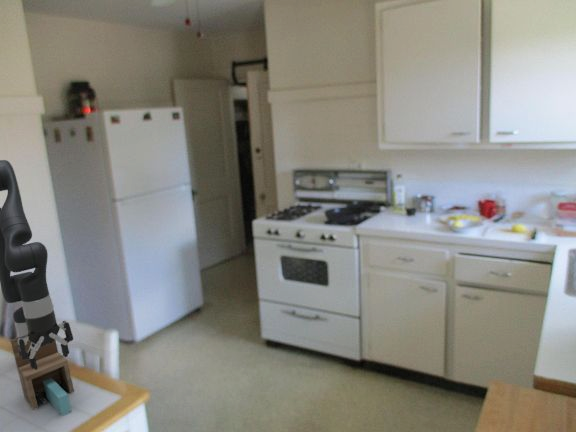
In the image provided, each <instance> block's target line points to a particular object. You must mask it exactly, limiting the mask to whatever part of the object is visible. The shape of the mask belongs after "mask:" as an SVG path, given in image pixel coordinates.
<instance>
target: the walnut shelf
mask: <svg viewBox="0 0 576 432" xmlns="http://www.w3.org/2000/svg"><path fill="white" fill-rule="evenodd" d="M26 336H28V334H27V335H24V336H21V338H23V337H26ZM17 338H18V337H17ZM17 338H16V337H15V338H13V339H11V340H10V345H11V349H12V353H13V357H14V360H15V364H16V368H17V373H18V377H19V382H20V384H21V387H22V392H23V396H24V399H25V400H26V402H27V403H28V405H30V407H31V408H32V409H33V410H36V409H38V408H39V406H38V401H37V398H38V399H39V400H40V402H41V403H42V404H43V405H45V404H47V403H48V400H46V399H47V398H46V397H44V395H42V394H41V393H43V392H45V388H44V384H43V381H44V380H47V379H49V378H52V379H53V380H54V381H55V382H56V383H57V384H58V385H59V386H60V385H62V386H63V387H64V388H65V389H66V390H67V392H69V393H70V394H71V393H73V392H74V391H75V389H74V385H73V379H72V376H71V372H70V371H71V370H70V366H69V362H68V359H67V357H64V356H63V354H61V353H60V352H59V350H58V349H59V348H58V346H57V342H56V340H54V341H53V343H50V344H46V345H45V346H40V347H39V349H38V351H37V352H36V354H35V356H34V357H35V359H36V363H37V368H38V369H36V370H35V369H32V368H31V367H30V364H29V360H28V359H25V360H23V359H22V358H21V357H20V356H19V350H18V344H17ZM31 343H32V342H31V341H30V340H28V341H27V344H26V345H25V350H26V353H28V351H29V348H30V345H31ZM36 397H37V398H36Z"/></svg>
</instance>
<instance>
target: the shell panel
mask: <svg viewBox="0 0 576 432" xmlns="http://www.w3.org/2000/svg"><path fill="white" fill-rule="evenodd" d="M43 384H44V388H45V391H44V392H45V398H46V399H47V401H49V402H50V403H51V405H52V406H53V407H54V408H55V409H56V410H57V411H58V413H60V415H61V416H63V417H64V416H65V415H67V414H69V413H72V407H71V404H70V400H69V399H70V398H69V395H68V393H67V392H66V391H65V390H64V389H63V388H62V387H61V386H60V385H58V384H57V383H56V382H55V381H54V380H53V379H52V378H49V379H47V380H44V381H43Z"/></svg>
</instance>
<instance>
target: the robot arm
mask: <svg viewBox="0 0 576 432" xmlns="http://www.w3.org/2000/svg"><path fill="white" fill-rule="evenodd" d="M15 172H16V171H15V169H14V168H13V165H12V164H11V162H10V161H9V160H6V159H0V192H3V191H7V194H6V195H7V196H6V199H5V201H4V203H3V205H2V207H0V289H1V293H2V296H3V299H4V301H5V302H6V303H8V304H12V303H13V304H14V303H18V302H21V304H22V305H21V306H20V307H18V309H16V310H15V311H14V312H13V314H12V316H13V321H14V325H15V326H14V327H15V329H16V334H17V344H18V350H19V356H20V357H21V358H22V359H23V360H25V359H28V360H29V364H30V367H31V368H32V369H35V370H36V369H38V368H37V363H36V359H35V357H34V356H35V354H36V352H37V351H38V349H39V347H40V346H45V345H46V344H50V343H53V341H54V340H56V341H57V342H58V343H60V347H61V352H62V356H63V357H64V358H67V357H69V356H68V355H69V354H70V348H69V345H68V344H69V343H70V342H72V341H73V340H74V336H73V332H72V330H71V325H70V323H69V322H68V321H66V320H63V321H62V322H60V323H59V324H58V323H57V318H56V314H55V310H54V304H53V301H52V298H51V295H50V293H49V292H50V291H49V287H48V282H47V281H48V280H47V267H48V265H47V264H48V250H47V247H46V246H45V244H43V243H42V242H41V241H35V242H30V241H31V240H32V237H33V232H32V229H31V227H30V224H29V222H28V219H27V217H26V213H25V210H24V206H23V202H22V196H21V193H20V188H19V183H18V180H17V177H16V173H15ZM29 242H30V243H29ZM32 269H34V270H33V271H29V270H32ZM24 271H27V272H24ZM11 272H12V273H18V274H13V275H11ZM20 272H21V273H20ZM60 330H62V331H63V332H64V335H65V337H64V338H63V337H61V336H60V335H58V334H59V332H60ZM27 334H28V336H26V337H23V338H21V336H24V335H27ZM28 340H30V341H31V342H32V343H31V345H30V348H29V351H28V353H26V350H25V345H26V344H27V341H28Z"/></svg>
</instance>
